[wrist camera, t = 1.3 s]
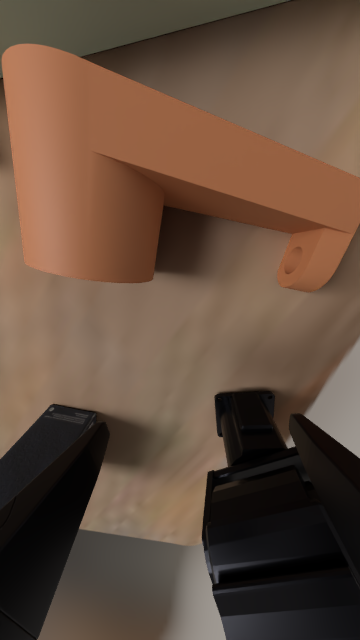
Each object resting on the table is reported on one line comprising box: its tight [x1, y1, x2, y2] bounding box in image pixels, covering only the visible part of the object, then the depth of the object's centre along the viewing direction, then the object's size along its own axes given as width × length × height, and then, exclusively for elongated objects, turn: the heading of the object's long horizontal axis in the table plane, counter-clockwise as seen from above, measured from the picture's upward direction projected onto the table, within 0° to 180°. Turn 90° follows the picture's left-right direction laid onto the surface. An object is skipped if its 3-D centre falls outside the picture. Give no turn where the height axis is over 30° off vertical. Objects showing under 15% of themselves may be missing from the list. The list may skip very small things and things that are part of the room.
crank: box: [1, 44, 360, 292], centre depth 11 cm, size 20×8×8 cm, turn 79°
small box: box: [0, 405, 96, 509], centre depth 20 cm, size 11×6×10 cm, turn 170°
